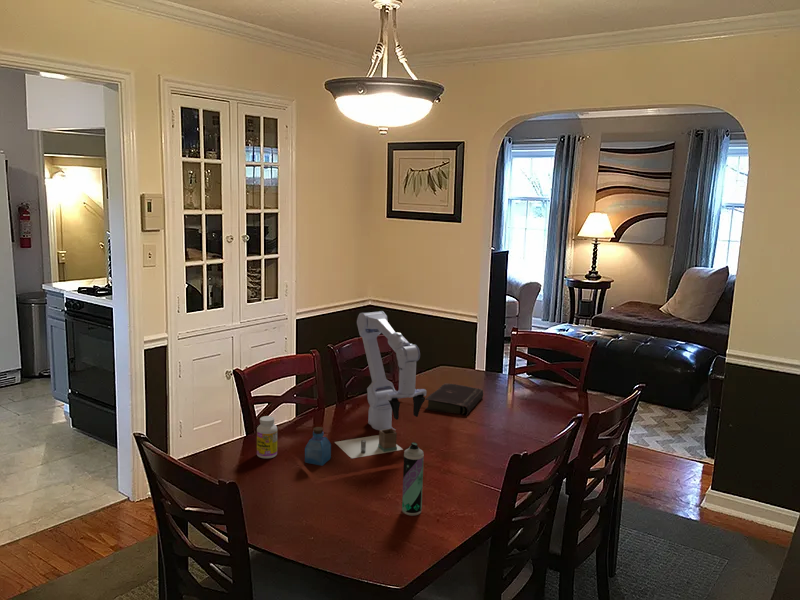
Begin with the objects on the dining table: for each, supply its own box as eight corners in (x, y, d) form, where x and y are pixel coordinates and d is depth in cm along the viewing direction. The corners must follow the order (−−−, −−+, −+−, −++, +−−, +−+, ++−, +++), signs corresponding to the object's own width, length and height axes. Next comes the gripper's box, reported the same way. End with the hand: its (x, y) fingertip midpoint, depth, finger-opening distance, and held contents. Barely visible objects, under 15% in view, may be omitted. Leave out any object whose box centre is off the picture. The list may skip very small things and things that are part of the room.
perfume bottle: (330, 461, 221) (331, 426, 219) (322, 469, 215) (322, 433, 213) (313, 458, 223) (313, 424, 221) (304, 466, 217) (305, 430, 215)
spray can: (401, 506, 192) (403, 439, 189) (420, 506, 193) (422, 439, 189) (402, 515, 187) (405, 447, 183) (422, 515, 187) (425, 447, 184)
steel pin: (360, 451, 226) (360, 440, 226) (364, 451, 227) (364, 439, 226) (361, 453, 225) (362, 442, 224) (366, 452, 226) (366, 441, 225)
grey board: (334, 445, 234) (334, 442, 234) (383, 437, 243) (383, 434, 243) (351, 461, 221) (351, 458, 221) (403, 452, 230) (403, 449, 229)
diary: (483, 399, 290) (484, 388, 289) (467, 418, 267) (468, 406, 266) (441, 392, 297) (442, 381, 296) (422, 410, 274) (423, 398, 273)
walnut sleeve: (378, 446, 231) (378, 430, 230) (390, 444, 233) (391, 428, 232) (384, 452, 227) (384, 435, 226) (396, 449, 229) (397, 433, 228)
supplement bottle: (252, 457, 222) (252, 419, 220) (264, 449, 229) (263, 413, 226) (270, 460, 220) (270, 423, 218) (281, 453, 226) (281, 416, 224)
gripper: (393, 385, 226) (392, 423, 229) (431, 380, 233) (429, 418, 235) (384, 379, 233) (383, 416, 235) (421, 375, 239) (420, 411, 241)
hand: (405, 417), depth 236 cm, fingers open, 7 cm apart
